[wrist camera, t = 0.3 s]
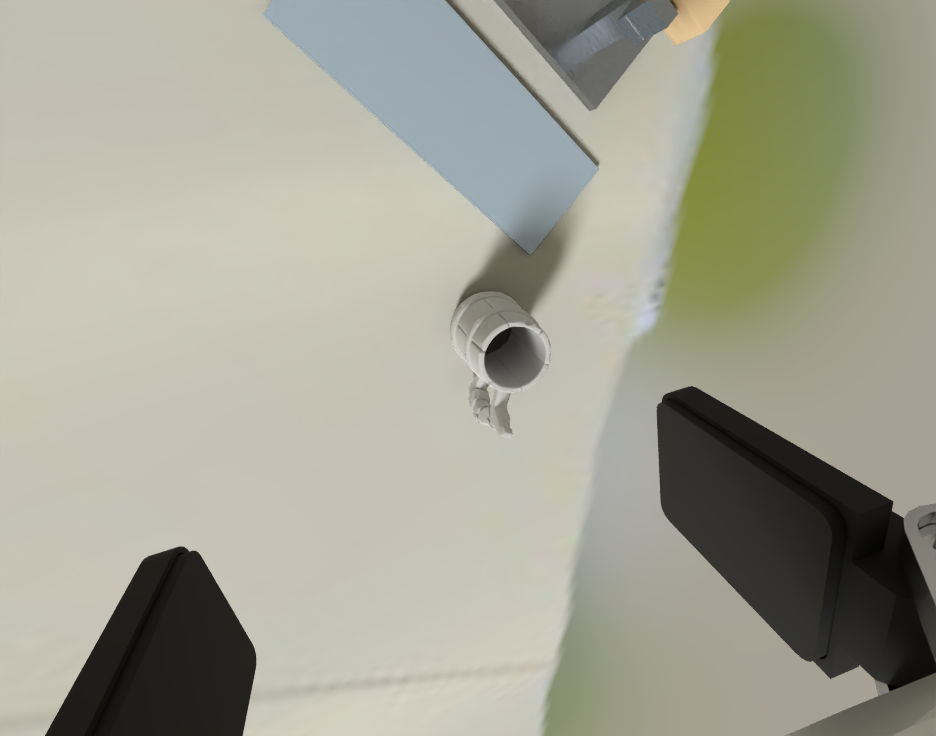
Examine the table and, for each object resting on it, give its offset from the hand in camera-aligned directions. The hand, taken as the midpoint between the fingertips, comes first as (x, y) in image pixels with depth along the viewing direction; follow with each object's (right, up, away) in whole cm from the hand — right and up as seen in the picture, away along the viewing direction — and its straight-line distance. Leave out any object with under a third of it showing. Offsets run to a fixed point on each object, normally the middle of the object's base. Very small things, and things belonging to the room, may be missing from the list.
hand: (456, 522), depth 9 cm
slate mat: (-1, +26, +30) cm, 39 cm away
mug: (+1, +6, +39) cm, 39 cm away
